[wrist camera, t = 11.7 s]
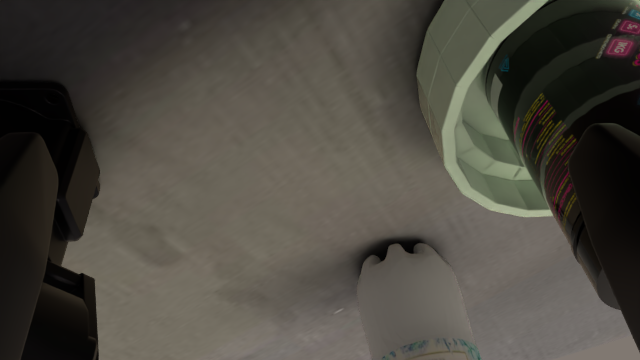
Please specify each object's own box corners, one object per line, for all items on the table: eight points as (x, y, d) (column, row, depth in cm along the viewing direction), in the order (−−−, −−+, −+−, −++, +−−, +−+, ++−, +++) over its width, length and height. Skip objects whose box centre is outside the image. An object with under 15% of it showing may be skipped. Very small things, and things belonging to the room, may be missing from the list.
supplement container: (634, 83, 23) (815, 272, 16) (490, 137, 24) (596, 333, 17) (642, -53, 18) (904, 126, 11) (464, 23, 20) (594, 226, 13)
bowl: (390, 154, 25) (412, 222, 22) (457, -127, 16) (508, -80, 13) (616, 149, 27) (665, 211, 24) (787, -109, 18) (902, -63, 15)
